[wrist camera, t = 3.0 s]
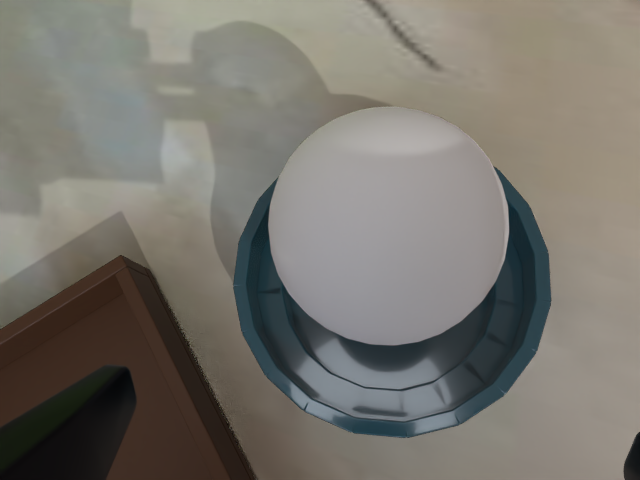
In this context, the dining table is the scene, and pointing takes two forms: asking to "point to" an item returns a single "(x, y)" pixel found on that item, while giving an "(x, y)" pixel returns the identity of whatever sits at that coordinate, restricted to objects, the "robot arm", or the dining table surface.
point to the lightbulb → (388, 225)
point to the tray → (144, 363)
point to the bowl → (400, 360)
